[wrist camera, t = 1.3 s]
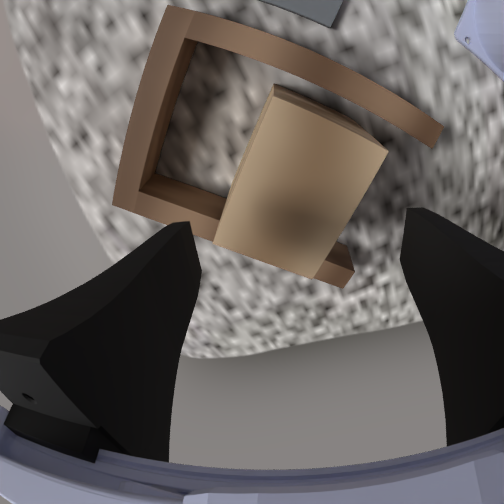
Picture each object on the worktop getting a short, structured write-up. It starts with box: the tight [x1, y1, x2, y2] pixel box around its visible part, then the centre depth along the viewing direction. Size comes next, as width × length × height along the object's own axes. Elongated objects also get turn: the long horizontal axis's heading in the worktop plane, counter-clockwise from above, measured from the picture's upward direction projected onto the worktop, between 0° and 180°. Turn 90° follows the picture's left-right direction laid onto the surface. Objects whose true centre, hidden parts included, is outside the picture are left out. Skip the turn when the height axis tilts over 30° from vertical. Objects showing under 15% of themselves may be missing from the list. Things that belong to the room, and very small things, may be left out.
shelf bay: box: [112, 5, 444, 288], centre depth 17 cm, size 16×12×3 cm
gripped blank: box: [213, 84, 389, 279], centre depth 16 cm, size 5×7×7 cm
